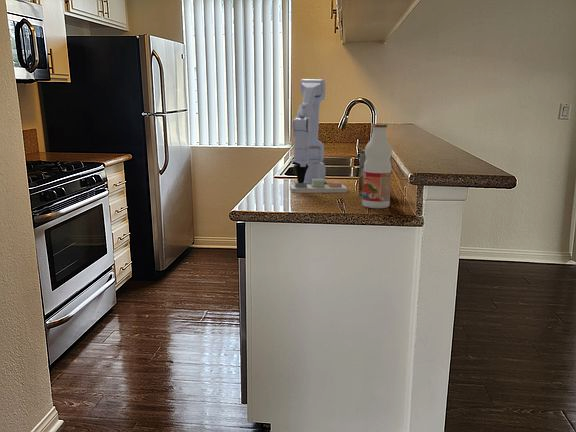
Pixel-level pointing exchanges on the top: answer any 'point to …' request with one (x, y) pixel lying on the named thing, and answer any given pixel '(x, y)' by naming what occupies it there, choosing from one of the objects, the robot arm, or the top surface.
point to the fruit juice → (377, 169)
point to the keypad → (318, 189)
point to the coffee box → (361, 172)
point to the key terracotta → (335, 184)
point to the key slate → (300, 185)
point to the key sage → (318, 182)
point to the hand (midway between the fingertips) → (300, 182)
